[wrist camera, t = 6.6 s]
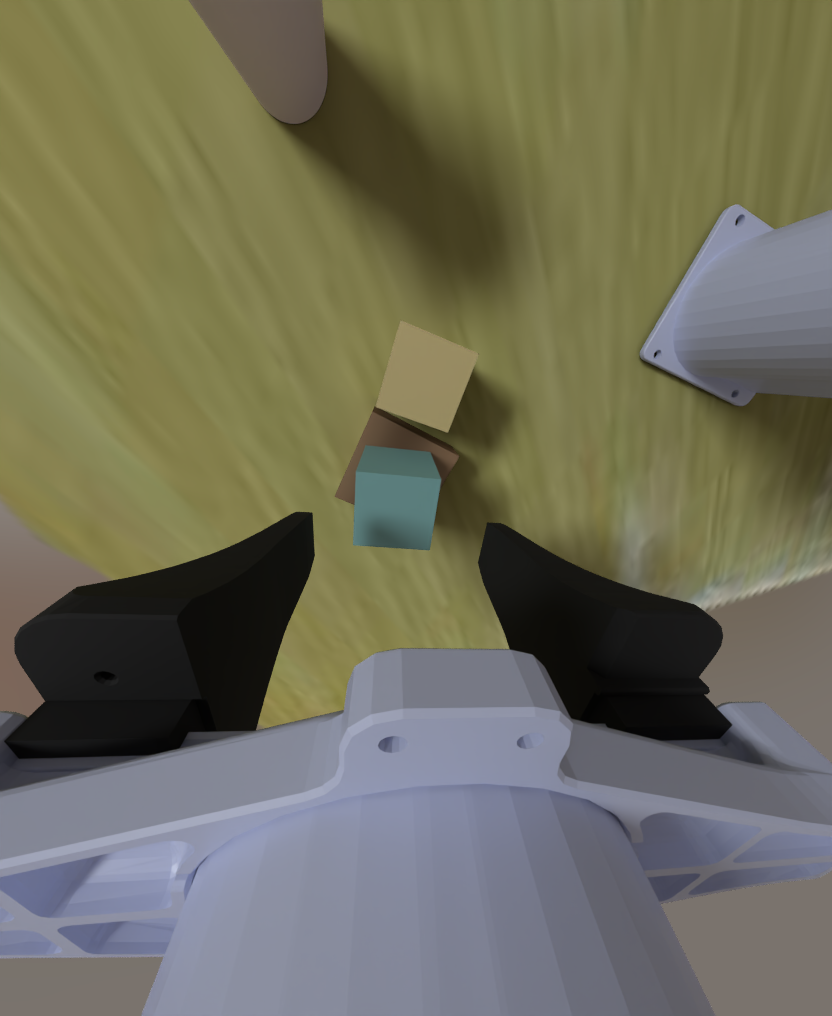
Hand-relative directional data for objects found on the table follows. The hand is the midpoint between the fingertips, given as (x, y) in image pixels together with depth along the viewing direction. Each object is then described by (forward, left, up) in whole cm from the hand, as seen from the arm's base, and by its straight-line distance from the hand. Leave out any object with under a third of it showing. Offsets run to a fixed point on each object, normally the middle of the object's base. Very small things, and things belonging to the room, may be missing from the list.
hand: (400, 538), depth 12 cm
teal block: (0, 0, -8) cm, 8 cm away
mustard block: (+1, -6, -10) cm, 12 cm away
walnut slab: (0, 0, -11) cm, 11 cm away
